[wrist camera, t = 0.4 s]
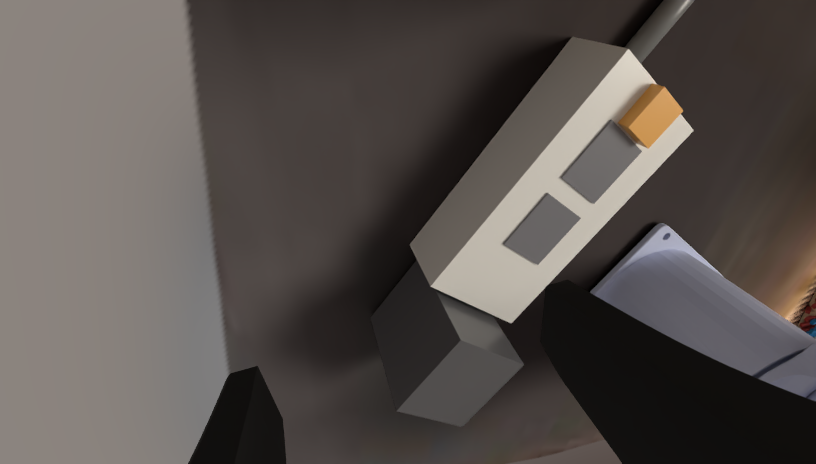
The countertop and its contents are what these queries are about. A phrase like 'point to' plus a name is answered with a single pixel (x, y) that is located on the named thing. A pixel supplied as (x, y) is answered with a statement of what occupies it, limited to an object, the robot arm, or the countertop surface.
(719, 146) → the countertop surface
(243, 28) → the countertop surface
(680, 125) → the power strip
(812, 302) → the woven mat
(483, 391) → the charger
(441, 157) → the countertop surface
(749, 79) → the countertop surface
